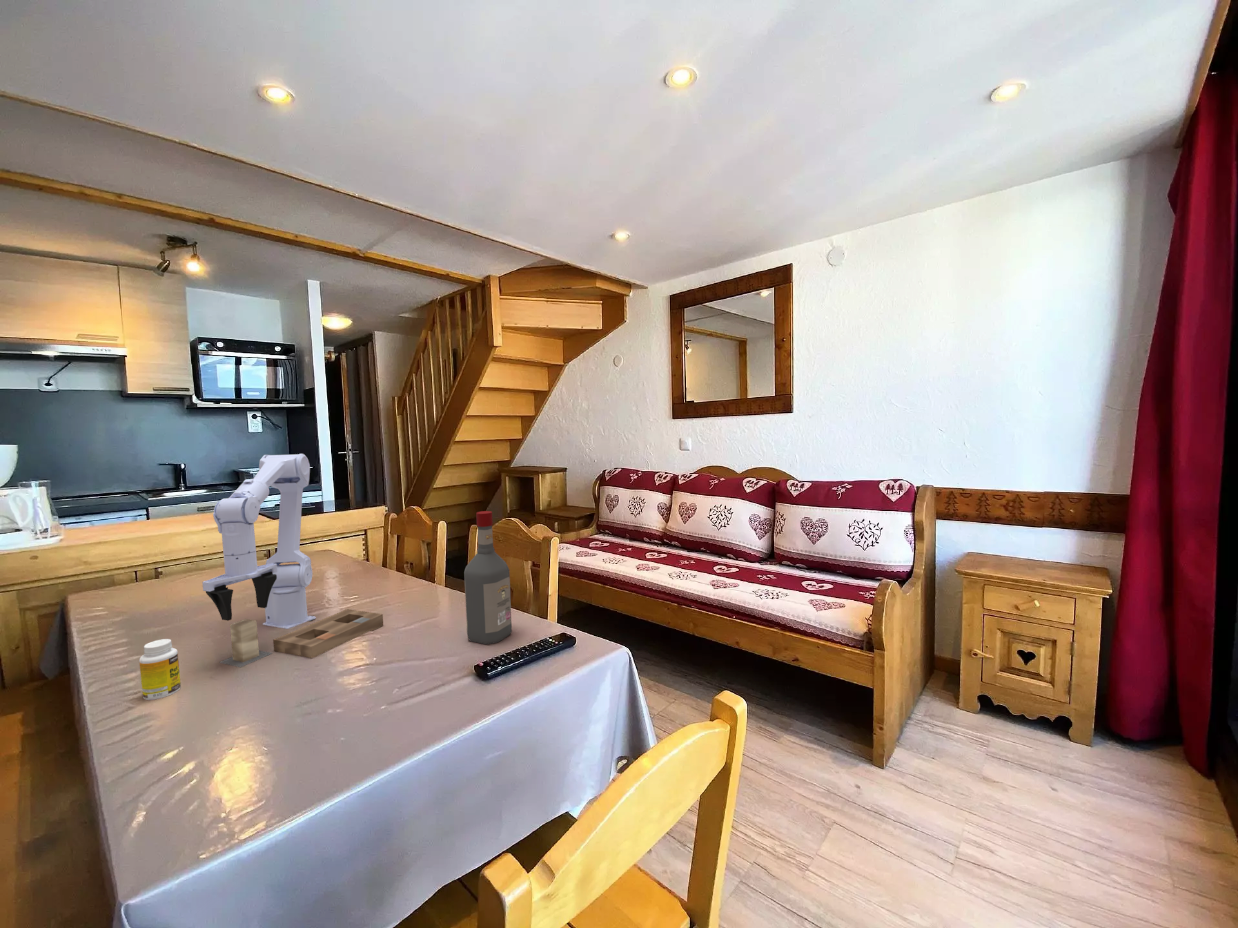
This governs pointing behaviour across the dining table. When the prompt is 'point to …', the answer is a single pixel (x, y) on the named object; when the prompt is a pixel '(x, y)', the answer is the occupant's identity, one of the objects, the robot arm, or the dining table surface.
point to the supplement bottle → (159, 670)
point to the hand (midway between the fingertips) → (245, 613)
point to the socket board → (328, 633)
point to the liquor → (487, 589)
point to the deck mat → (241, 664)
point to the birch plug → (244, 640)
